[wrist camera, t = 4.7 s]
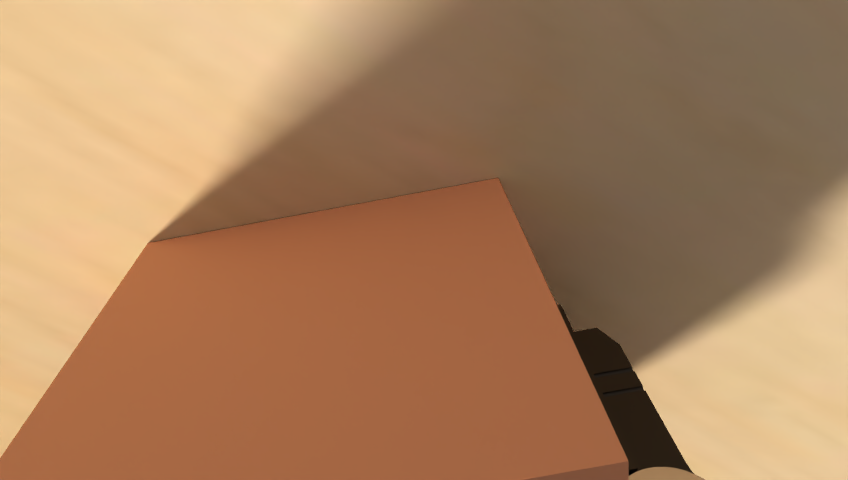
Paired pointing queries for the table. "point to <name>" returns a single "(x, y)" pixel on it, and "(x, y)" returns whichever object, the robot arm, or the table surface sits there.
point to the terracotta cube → (329, 357)
